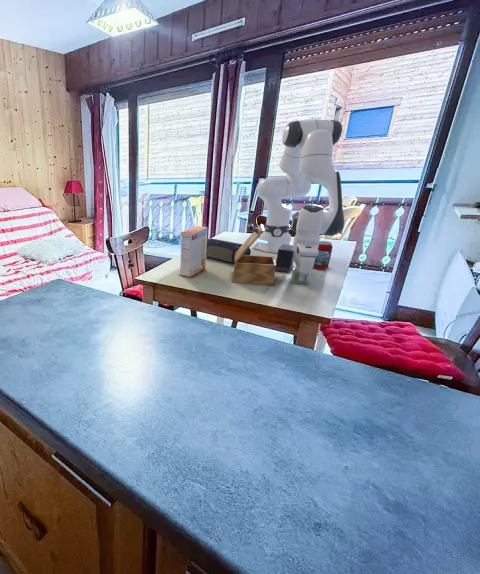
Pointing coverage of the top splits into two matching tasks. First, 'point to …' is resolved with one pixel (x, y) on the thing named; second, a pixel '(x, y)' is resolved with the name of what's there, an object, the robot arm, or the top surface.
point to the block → (295, 277)
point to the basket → (255, 270)
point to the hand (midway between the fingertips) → (299, 277)
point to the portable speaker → (223, 250)
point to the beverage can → (323, 255)
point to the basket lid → (249, 240)
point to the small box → (285, 258)
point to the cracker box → (193, 251)
